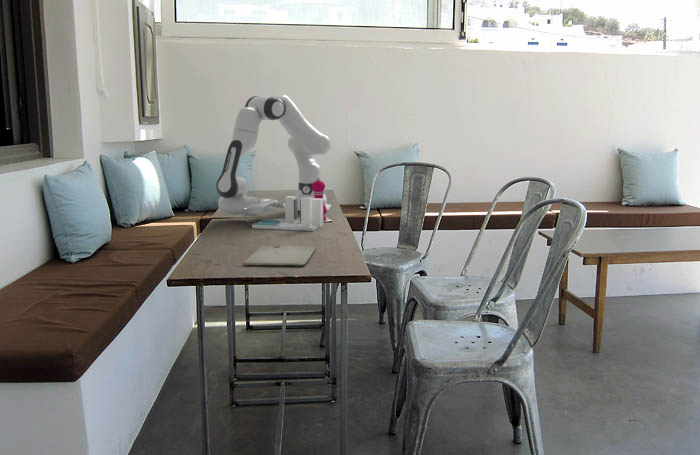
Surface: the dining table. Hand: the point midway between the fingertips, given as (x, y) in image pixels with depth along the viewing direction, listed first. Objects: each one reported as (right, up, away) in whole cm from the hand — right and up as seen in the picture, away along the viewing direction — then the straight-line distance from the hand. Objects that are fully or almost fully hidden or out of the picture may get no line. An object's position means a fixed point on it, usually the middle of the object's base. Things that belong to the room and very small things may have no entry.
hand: (280, 207), depth 283 cm
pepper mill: (+17, -6, +7) cm, 20 cm away
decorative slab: (+8, -20, -66) cm, 70 cm away
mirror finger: (+17, -8, -8) cm, 21 cm away
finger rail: (+4, -9, -12) cm, 16 cm away
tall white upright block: (+5, -7, 0) cm, 9 cm away
